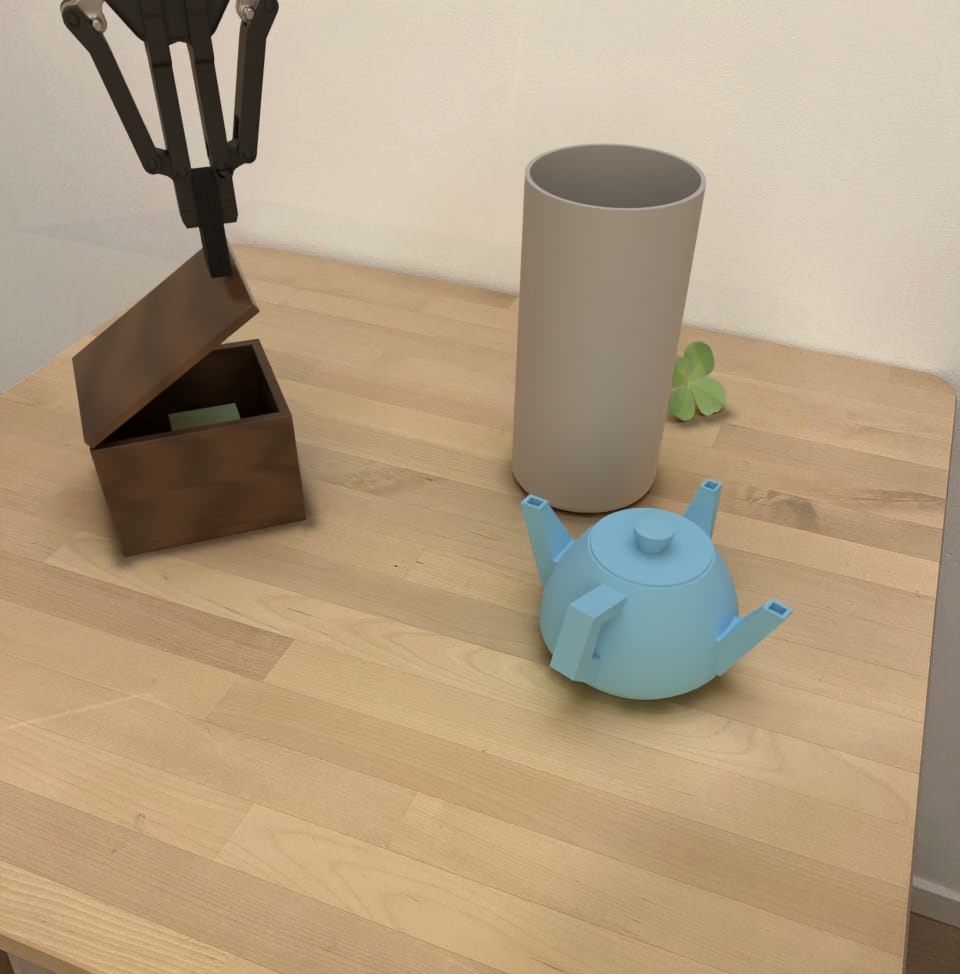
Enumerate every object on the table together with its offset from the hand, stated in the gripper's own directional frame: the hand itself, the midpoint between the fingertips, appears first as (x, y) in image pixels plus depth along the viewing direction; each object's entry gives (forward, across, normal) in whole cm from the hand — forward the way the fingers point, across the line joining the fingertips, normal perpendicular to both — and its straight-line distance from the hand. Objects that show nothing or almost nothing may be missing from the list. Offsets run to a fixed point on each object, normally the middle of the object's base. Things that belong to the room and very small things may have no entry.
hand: (218, 268), depth 69 cm
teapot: (+19, -22, +28) cm, 40 cm away
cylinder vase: (+19, -27, +8) cm, 34 cm away
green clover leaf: (+19, -42, 0) cm, 46 cm away
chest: (+19, +4, 0) cm, 19 cm away
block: (+18, +3, 0) cm, 18 cm away
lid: (+5, +5, 0) cm, 7 cm away
